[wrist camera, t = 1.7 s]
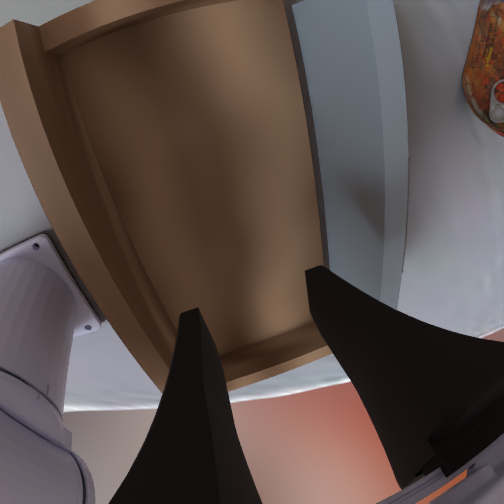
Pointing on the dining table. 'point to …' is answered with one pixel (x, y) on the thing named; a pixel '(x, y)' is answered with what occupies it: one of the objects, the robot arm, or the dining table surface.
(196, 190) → the wooden tray
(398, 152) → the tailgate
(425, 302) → the dining table surface
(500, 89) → the tin
